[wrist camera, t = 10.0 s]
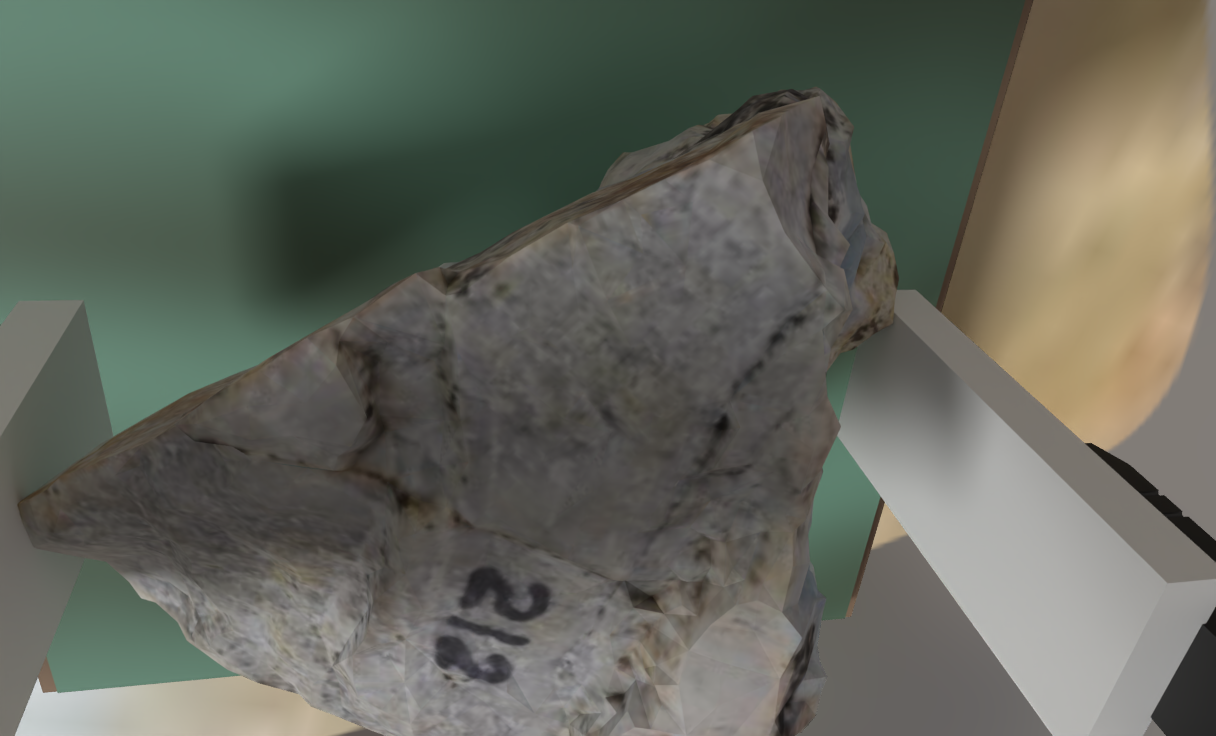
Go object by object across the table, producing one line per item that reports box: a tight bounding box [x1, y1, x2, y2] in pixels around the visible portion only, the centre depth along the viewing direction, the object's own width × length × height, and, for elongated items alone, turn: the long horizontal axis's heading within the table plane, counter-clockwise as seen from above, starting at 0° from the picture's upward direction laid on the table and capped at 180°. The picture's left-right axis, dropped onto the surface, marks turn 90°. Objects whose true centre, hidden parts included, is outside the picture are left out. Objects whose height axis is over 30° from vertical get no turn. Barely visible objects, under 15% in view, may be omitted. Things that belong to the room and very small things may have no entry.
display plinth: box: [0, 0, 1033, 693], centre depth 18 cm, size 18×18×5 cm
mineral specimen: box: [18, 87, 899, 736], centre depth 12 cm, size 10×8×10 cm
